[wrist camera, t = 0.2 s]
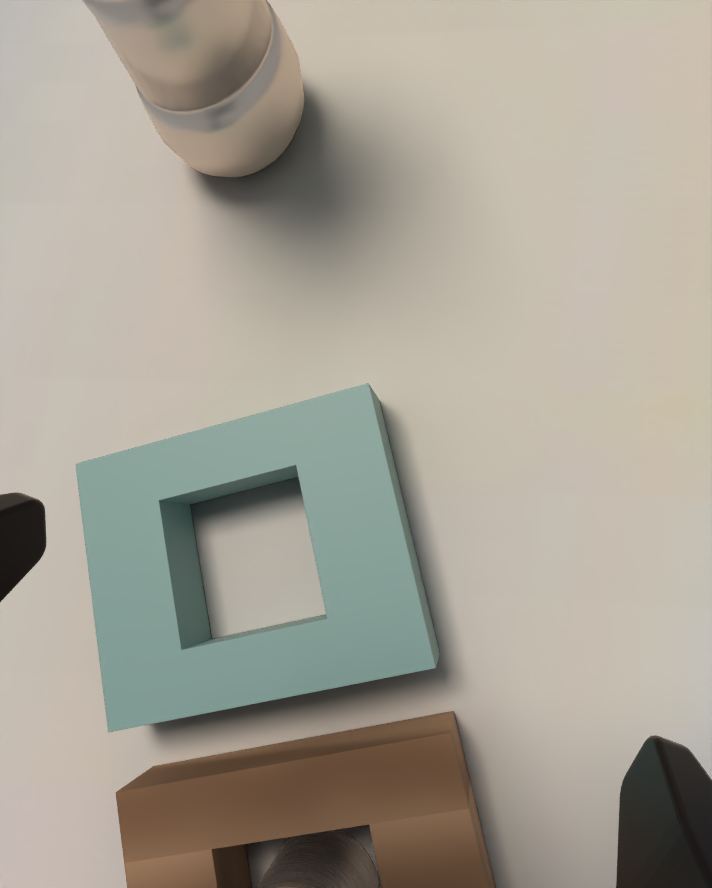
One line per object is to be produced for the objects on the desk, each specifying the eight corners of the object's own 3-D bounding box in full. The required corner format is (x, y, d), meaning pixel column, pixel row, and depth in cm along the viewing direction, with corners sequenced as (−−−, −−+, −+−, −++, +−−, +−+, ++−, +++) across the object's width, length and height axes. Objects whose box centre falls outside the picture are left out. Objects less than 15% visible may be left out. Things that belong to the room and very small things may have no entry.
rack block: (440, 654, 22) (435, 668, 19) (146, 712, 23) (108, 732, 21) (379, 399, 24) (368, 383, 21) (113, 471, 26) (75, 464, 23)
